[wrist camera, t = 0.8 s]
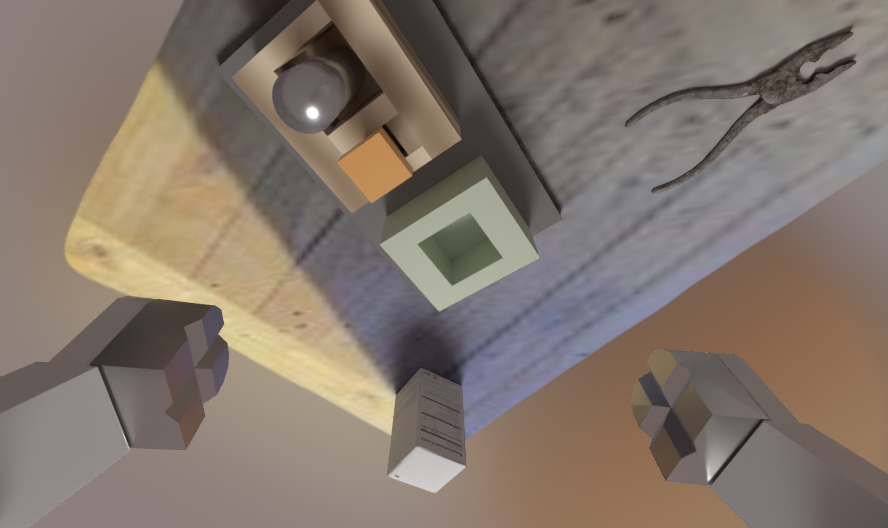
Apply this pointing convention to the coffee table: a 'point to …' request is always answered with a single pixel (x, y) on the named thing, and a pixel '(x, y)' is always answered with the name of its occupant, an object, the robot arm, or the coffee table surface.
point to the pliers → (769, 87)
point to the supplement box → (427, 432)
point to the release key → (376, 165)
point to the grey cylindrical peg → (318, 89)
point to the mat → (463, 94)
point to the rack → (459, 236)
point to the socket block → (375, 105)
